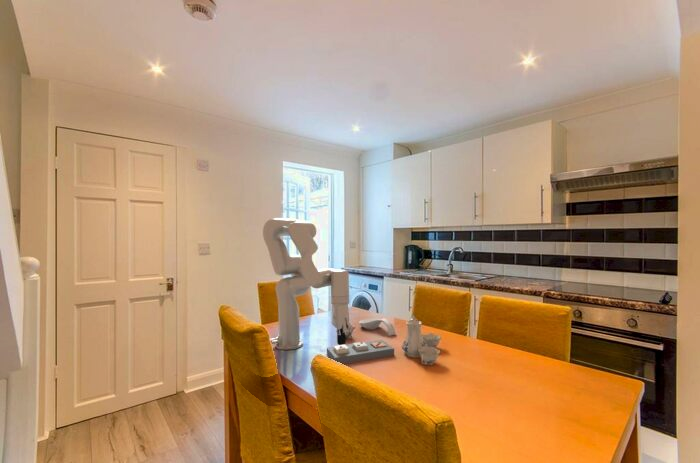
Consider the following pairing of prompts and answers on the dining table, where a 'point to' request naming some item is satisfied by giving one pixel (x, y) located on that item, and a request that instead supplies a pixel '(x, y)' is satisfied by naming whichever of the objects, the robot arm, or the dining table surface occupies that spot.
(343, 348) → the button one
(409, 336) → the chinaware
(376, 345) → the button three
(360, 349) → the button two
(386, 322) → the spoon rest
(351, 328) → the spiky ball
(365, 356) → the button panel
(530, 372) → the dining table surface
